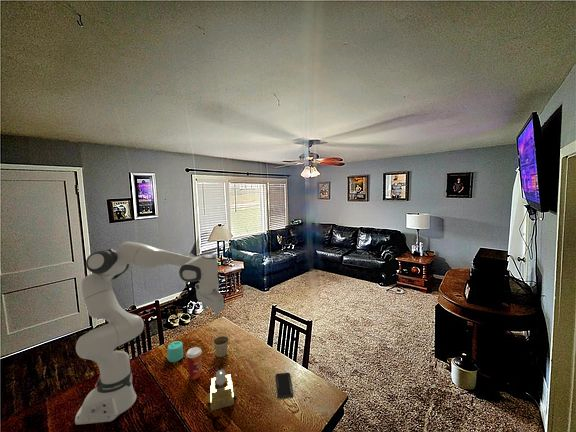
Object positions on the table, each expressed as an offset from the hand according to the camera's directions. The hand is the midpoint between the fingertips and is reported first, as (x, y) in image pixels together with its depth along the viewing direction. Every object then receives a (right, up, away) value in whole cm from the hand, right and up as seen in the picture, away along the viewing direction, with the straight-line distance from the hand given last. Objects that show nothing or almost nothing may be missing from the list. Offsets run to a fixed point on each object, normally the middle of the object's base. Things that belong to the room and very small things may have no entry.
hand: (210, 313), depth 125 cm
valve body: (+8, -37, -8) cm, 39 cm away
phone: (+37, -37, 0) cm, 52 cm away
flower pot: (-1, -34, +25) cm, 42 cm away
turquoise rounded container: (-27, -35, +22) cm, 50 cm away
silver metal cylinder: (+8, -33, -8) cm, 35 cm away
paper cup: (-10, -36, +7) cm, 38 cm away
